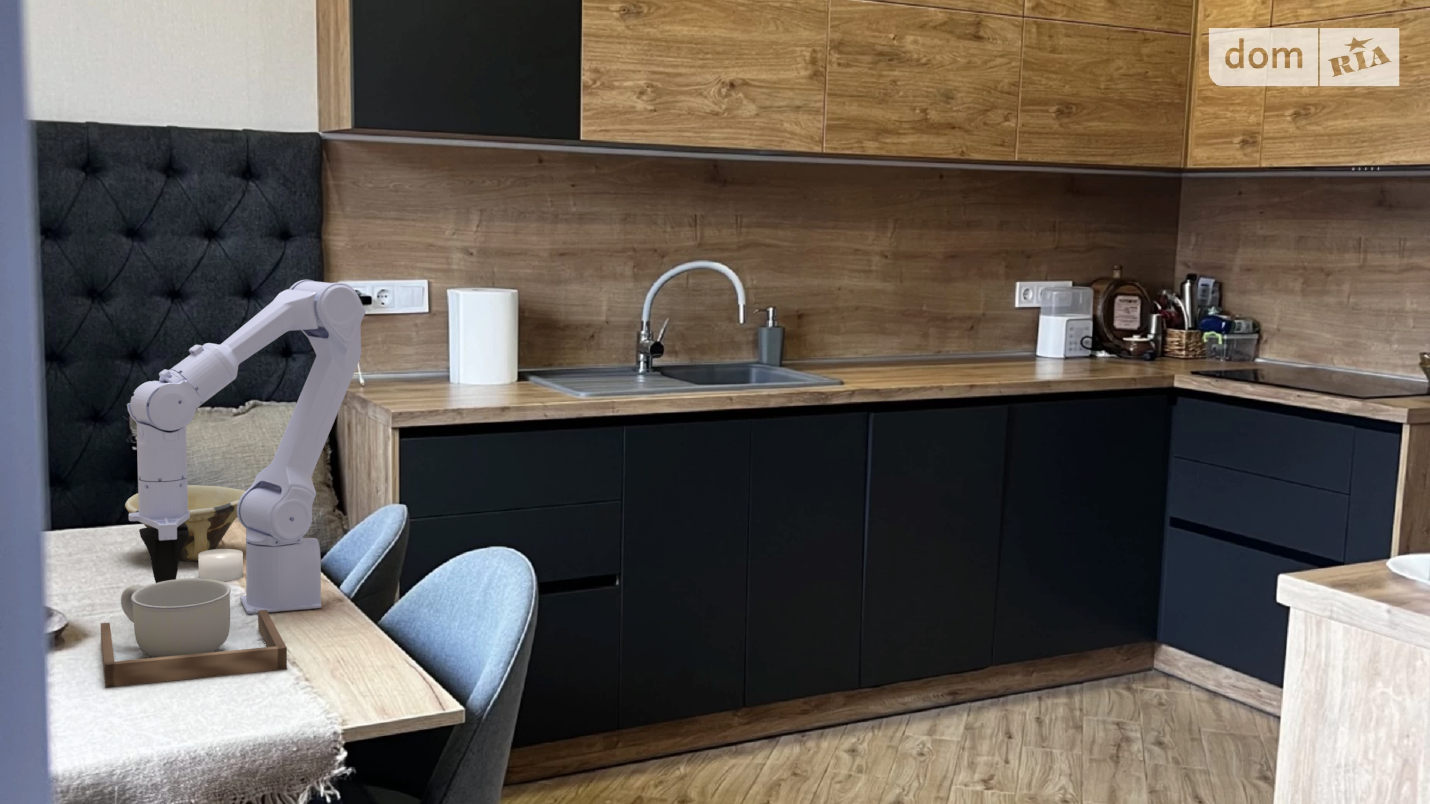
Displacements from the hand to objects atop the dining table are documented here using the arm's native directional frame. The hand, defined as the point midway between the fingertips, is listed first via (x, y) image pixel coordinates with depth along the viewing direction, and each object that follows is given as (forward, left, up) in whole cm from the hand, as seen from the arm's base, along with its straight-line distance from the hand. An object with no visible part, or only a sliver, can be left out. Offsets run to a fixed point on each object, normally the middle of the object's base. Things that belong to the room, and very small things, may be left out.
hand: (165, 584), depth 171 cm
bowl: (-6, -37, -5) cm, 38 cm away
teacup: (0, +13, -5) cm, 14 cm away
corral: (-2, +15, -5) cm, 16 cm away
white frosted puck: (-9, -23, -5) cm, 25 cm away
